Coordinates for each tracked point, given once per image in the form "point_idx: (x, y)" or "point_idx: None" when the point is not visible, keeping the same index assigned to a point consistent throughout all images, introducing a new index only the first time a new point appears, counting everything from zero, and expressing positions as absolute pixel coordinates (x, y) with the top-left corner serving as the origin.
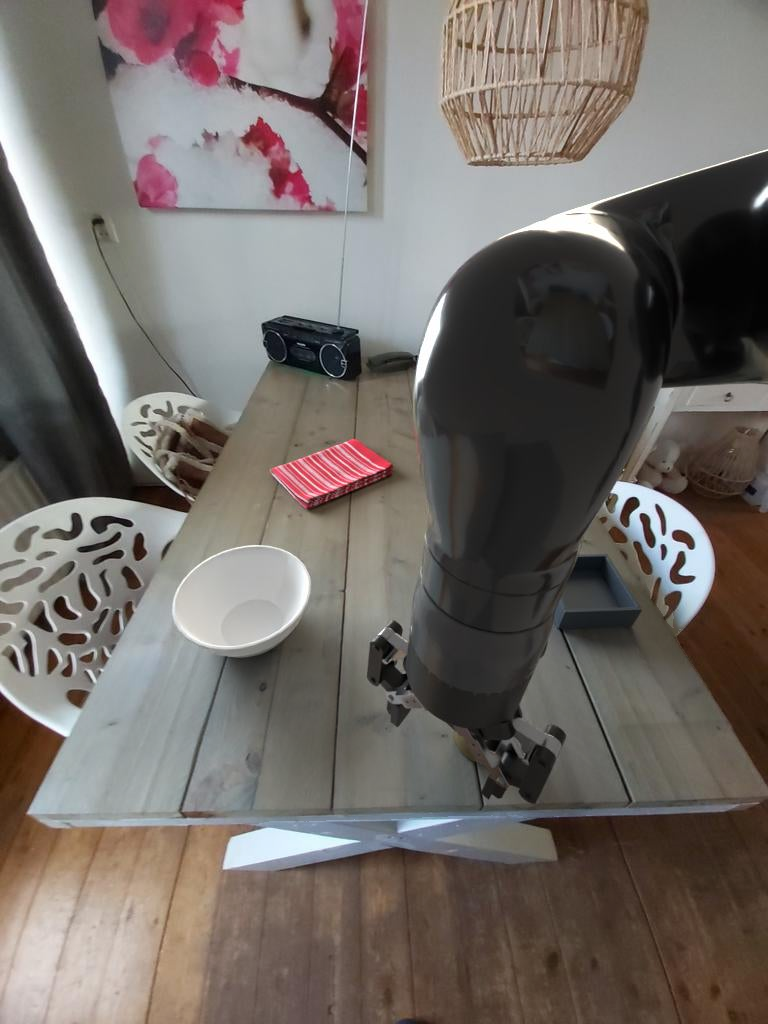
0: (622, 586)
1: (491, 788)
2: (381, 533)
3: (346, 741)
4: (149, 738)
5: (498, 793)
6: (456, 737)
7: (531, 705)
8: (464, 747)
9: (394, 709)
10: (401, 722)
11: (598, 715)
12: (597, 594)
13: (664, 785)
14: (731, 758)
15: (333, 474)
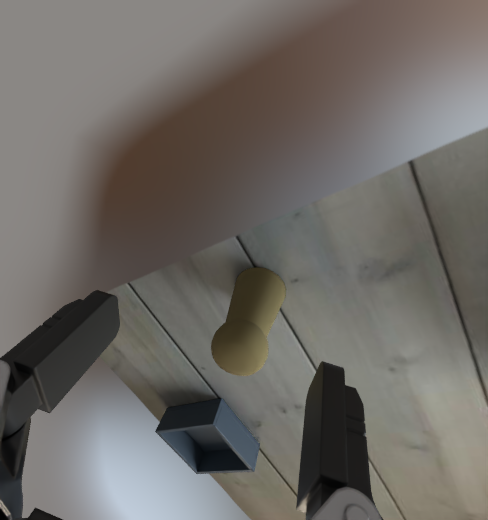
0: (176, 447)
1: (55, 329)
2: (457, 478)
3: (416, 236)
4: None
5: (65, 314)
6: (280, 284)
7: None
8: (267, 278)
9: (334, 448)
10: (317, 370)
11: (168, 336)
12: (198, 431)
13: None
14: None
15: None
